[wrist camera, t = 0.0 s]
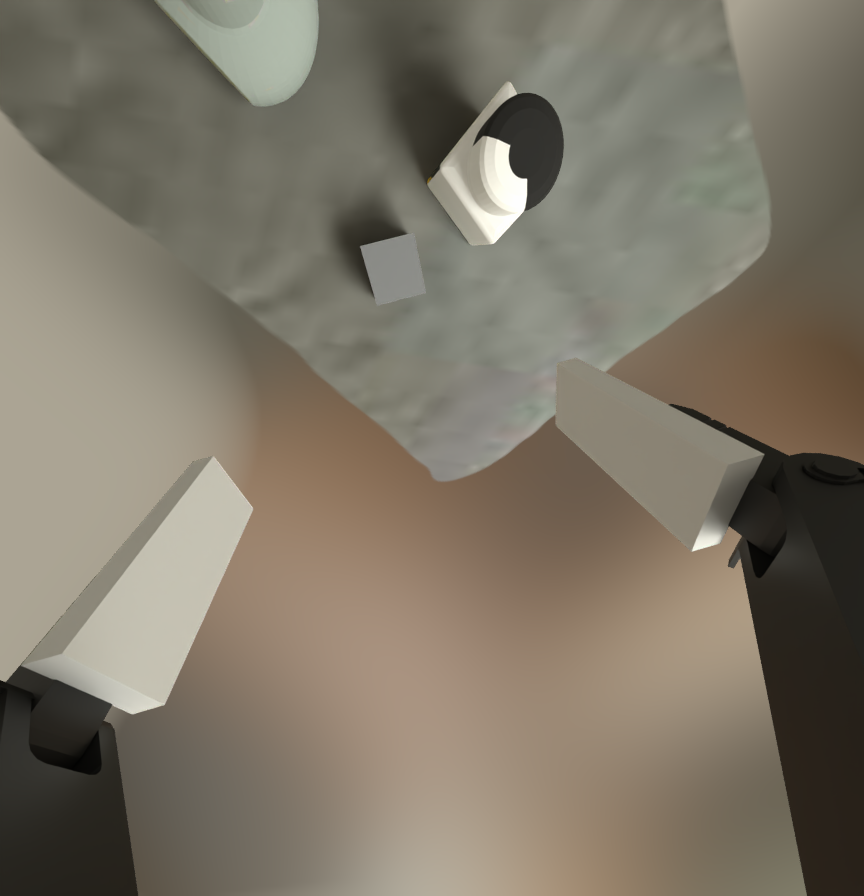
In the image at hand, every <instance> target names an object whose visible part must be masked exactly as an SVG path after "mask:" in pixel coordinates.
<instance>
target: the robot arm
mask: <svg viewBox="0 0 864 896" xmlns="http://www.w3.org/2000/svg"><path fill="white" fill-rule="evenodd" d="M556 426H557V427H558V428H559V429H560V430H561V431H562V432H563V433H564V434H566V435H567V436H568V437H569V438H570V439H571V440H572V441H573V442H574V443H575V444H576V445H577V446H578V447H580V448H581V449H582V450H583V451H584V452H585V453H586V454H587V455H588V456H589V457H590V458H591V459H592V460H594V461H595V462H596V463H597V464H598V465H599V466H600V467H601V468H602V469H603V470H604V471H605V472H606V473H607V474H609V475H610V476H611V477H612V478H613V479H614V480H615V481H616V482H617V483H618V484H619V485H620V486H621V487H623V488H624V489H625V490H626V491H627V492H628V493H629V494H630V495H631V496H632V497H633V498H634V499H635V500H636V501H638V502H639V503H640V504H641V505H642V506H643V507H644V508H645V509H646V510H647V511H648V512H649V513H650V514H651V515H653V516H654V517H655V518H656V519H657V520H658V521H659V522H660V523H661V524H662V525H663V526H664V527H665V528H667V529H668V530H669V531H670V532H671V533H672V534H673V535H674V536H675V537H676V538H677V539H679V541H680V542H682V543H683V544H684V545H685V546H686V547H687V548H688V549H689V550H690V551H695V550H699V549H702V548H706V547H709V546H712V545H716V544H719V543H721V541H722V539H723V537H724V535H725V533H726V531H727V529H728V527H729V526H730V527H731V528H732V529H734V530H735V531H737V532H738V533H739V534H740V535H742V537H741V539H740V541H739V542H738V544H737V546H736V548H735V550H734V552H733V553H732V555H731V557H730V559H729V564H728V567H731V568H734V567H735V565H736V564H737V562H738V560H739V559H741V563H742V568H743V572H744V577H745V583H746V588H747V593H748V598H749V603H750V608H751V614H752V618H753V624H754V629H755V634H756V639H757V644H758V649H759V654H760V659H761V664H762V669H763V674H764V680H765V685H766V689H767V695H768V700H769V704H770V710H771V715H772V720H773V725H774V730H775V735H776V740H777V745H778V750H779V756H780V761H781V766H782V771H783V776H784V781H785V786H786V791H787V796H788V801H789V807H790V812H791V817H792V821H793V827H794V832H795V837H796V842H797V846H798V852H799V857H800V862H801V867H802V873H803V878H804V883H805V888H806V892H807V896H864V465H863V464H861V463H858V462H855V461H852V460H849V459H845V458H842V457H839V456H833V455H827V454H821V453H801V454H795V455H790V456H788V455H786V454H784V453H782V452H780V451H778V450H776V449H774V448H772V447H770V446H768V445H766V444H764V443H761V442H759V441H758V440H755V439H753V438H751V437H749V436H747V435H745V434H743V433H741V432H739V431H737V430H734V429H733V428H731V427H729V428H727V427H726V425H725V424H723V423H720V422H718V421H716V420H711V418H710V417H708V416H706V415H704V414H702V413H700V412H698V411H696V410H694V409H690V408H686V407H682V406H678V405H674V404H669V405H667V404H665V403H663V402H661V401H660V400H658V399H656V398H654V397H652V396H650V395H648V394H646V393H644V392H642V391H640V390H638V389H636V388H634V387H632V386H630V385H628V384H626V383H624V382H622V381H620V380H618V379H617V378H615V377H613V376H611V375H609V374H607V373H605V372H603V371H601V370H599V369H597V368H595V367H593V366H591V365H589V364H587V363H585V362H583V361H581V360H579V359H578V358H574V359H570V360H567V361H563V362H559V363H557V384H556ZM252 511H253V507H252V506H251V505H250V503H249V502H248V501H247V499H246V498H245V497H244V495H243V494H242V493H241V492H240V490H239V489H238V488H237V486H236V485H235V484H234V482H233V481H232V480H231V479H230V477H229V476H228V474H227V473H226V472H225V470H224V469H223V468H222V466H221V465H220V464H219V463H218V461H217V460H216V459H215V457H214V456H212V457H208V458H204V459H200V460H197V461H193V462H192V463H191V464H190V465H189V467H188V468H187V469H186V470H185V471H184V473H183V474H182V475H181V476H180V477H179V479H178V480H177V481H176V482H175V483H174V485H173V486H172V487H171V488H170V489H169V490H168V492H167V493H166V494H165V495H164V496H163V497H162V499H161V500H160V501H159V502H158V503H157V505H156V506H155V507H154V508H153V509H152V510H151V512H150V513H149V514H148V515H147V516H146V518H145V519H144V520H143V521H142V522H141V523H140V525H139V526H138V527H137V528H136V530H135V531H134V532H133V533H132V534H131V535H130V537H129V538H128V539H127V540H126V541H125V542H124V544H123V545H122V546H121V547H120V548H119V549H118V551H117V552H116V553H115V554H114V555H113V557H112V558H111V559H110V560H109V562H108V563H107V564H106V565H105V566H104V567H103V568H102V570H101V571H100V572H99V573H98V574H97V576H95V577H94V579H93V580H92V581H91V582H90V584H89V585H88V586H87V587H86V588H85V589H84V591H83V592H82V593H81V594H80V595H79V597H78V598H77V599H76V600H75V601H74V602H73V603H72V605H71V606H70V607H69V608H68V609H67V611H66V612H65V613H64V615H63V616H62V617H61V618H60V619H59V620H58V621H57V622H56V624H55V625H54V626H53V627H52V628H51V629H50V631H49V632H48V633H47V634H46V636H45V637H44V638H43V639H42V640H41V641H40V642H39V644H38V645H37V646H36V647H35V648H34V650H33V651H32V652H31V653H30V654H29V656H28V657H27V658H26V659H25V660H24V661H23V663H22V664H21V665H20V666H19V667H18V668H17V670H16V671H15V672H14V673H13V674H12V676H11V677H10V678H9V679H8V680H7V681H6V682H3V681H1V680H0V896H138V891H137V884H136V877H135V870H134V863H133V857H132V849H131V842H130V835H129V828H128V821H127V814H126V807H125V800H124V793H123V786H122V779H121V772H120V765H119V759H118V751H117V744H116V737H115V730H114V728H113V726H112V725H111V724H110V723H108V722H105V721H103V720H104V719H105V717H106V715H107V713H108V711H109V709H110V708H111V706H115V707H117V708H119V709H122V710H124V711H126V712H129V713H131V714H135V713H138V712H141V711H145V710H148V709H152V708H155V707H159V706H162V705H165V703H166V700H167V698H168V696H169V694H170V692H171V690H172V687H173V685H174V683H175V681H176V678H177V676H178V674H179V672H180V670H181V668H182V665H183V663H184V661H185V659H186V656H187V654H188V652H189V649H190V647H191V645H192V643H193V641H194V639H195V637H196V634H197V632H198V630H199V628H200V625H201V623H202V621H203V619H204V617H205V615H206V612H207V610H208V608H209V605H210V603H211V601H212V599H213V597H214V595H215V592H216V590H217V588H218V586H219V584H220V581H221V579H222V577H223V575H224V573H225V570H226V568H227V566H228V564H229V561H230V559H231V557H232V555H233V553H234V551H235V548H236V546H237V544H238V542H239V539H240V537H241V535H242V533H243V531H244V528H245V526H246V524H247V522H248V520H249V517H250V515H251V513H252Z"/></svg>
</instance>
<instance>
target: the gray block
mask: <svg viewBox="0 0 864 896" xmlns="http://www.w3.org/2000/svg"><path fill="white" fill-rule="evenodd" d="M360 248H361V251H362V255H363V258H364V262H365V265H366V269H367V272H368V276H369V279H370V283H371V286H372V290H373V293H374V297H375V300H376V304H377V306H378V305H382V304H386V303H389V302H393V301H397V300H401V299H405V298H409V297H413V296H416V295H420V294H424V293H426V290H425V285H424V280H423V275H422V270H421V265H420V260H419V255H418V250H417V245H416V240H415V234H414V233H410V234H406V235H402V236H398V237H394V238H390V239H386V240H382V241H378V242H374V243H371V244H367V245H363V246H360Z"/></svg>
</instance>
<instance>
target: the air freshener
mask: <svg viewBox="0 0 864 896" xmlns="http://www.w3.org/2000/svg"><path fill="white" fill-rule="evenodd" d="M154 1H155V2H156V4H157V5H158V6H159V7H160V8H161V9H162V10H163V11H164V12H165V13H166V15H167V16H168V17H169V18H170V19H171V20H172V21H173V22H174V23H175V24H176V25H177V26H178V28H179V29H180V30H181V31H182V32H183V33H184V34H185V35H186V36H187V37H188V38H189V39H190V40H191V42H192V43H193V44H194V45H195V46H196V47H197V48H198V49H199V50H200V51H201V52H202V53H203V54H204V55H205V56H206V58H207V59H208V60H209V61H210V62H211V63H212V64H213V65H214V66H215V67H216V68H217V69H218V70H219V71H220V72H221V73H222V74H223V76H224V77H225V78H226V79H227V80H228V81H229V82H230V83H231V84H232V85H233V86H234V87H235V88H236V89H237V90H238V91H239V92H240V93H241V94H242V95H243V96H244V97H245V98H246V99H247V100H248V101H249V102H250V103H251V104H252V105H253V106H262V107H264V106H271V105H276V104H278V103H281V102H283V101H286V100H287V99H288V98H290V97H291V96H292V95H294V94H295V93H296V92H297V90H298V89H299V88H300V87H301V86H302V85H303V83H304V81H305V79H306V78H307V76H308V74H309V72H310V69H311V66H312V63H313V60H314V57H315V52H316V47H317V42H318V26H319V16H318V0H154Z"/></svg>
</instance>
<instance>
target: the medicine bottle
mask: <svg viewBox="0 0 864 896" xmlns="http://www.w3.org/2000/svg"><path fill="white" fill-rule="evenodd" d="M563 149H564V140H563V131H562V127H561V123H560V120H559V117H558V115H557V113H556V111H555V110H554V108H553V107H552V105H551V104H550V103H549V102H548V101H547V100H545V99H544V98H542V97H541V96H539V95H536V94H532V93H522V94H518V95H517V93H516V91H515V89H514V87H513V85H512V84H511V83H510V82H506V83H505V84H504V85H503V86H502V87H501V89H500V90H499V91H498V92H497V94H496V95H495V96H494V97H493V99H492V100H491V101H490V102H489V104H488V105H487V106H486V107H485V109H484V110H483V111H482V112H481V114H480V115H479V116H478V117H477V119H476V120H475V121H474V122H473V124H472V125H471V126H470V127H469V129H468V130H467V131H466V132H465V134H464V135H463V136H462V137H461V139H460V140H459V141H458V142H457V144H456V145H455V146H454V148H453V149H452V150H451V151H450V153H449V154H448V155H447V156H446V158H445V159H444V160H443V161H442V163H441V164H440V165H439V166H438V168H437V169H436V170H435V171H434V173H433V174H432V175H431V177H430V178H429V179H428V181H427V185H428V187H429V189H430V190H431V191H432V193H433V194H434V195H435V197H436V198H437V200H438V201H439V202H440V204H441V205H442V206H443V208H444V209H445V211H446V212H447V213H448V215H449V216H450V218H451V219H452V220H453V222H454V223H455V224H456V226H457V227H458V229H459V230H460V231H461V233H462V234H463V236H464V237H465V238H466V240H467V241H468V242H469V244H470V245H484V244H493V243H495V242H496V241H497V240H498V239H499V238H500V236H501V235H502V234H503V233H504V232H505V231H506V230H507V229H508V228H509V227H510V226H511V224H512V223H513V222H514V221H515V220H516V219H517V218H518V217H519V216H520V215H521V214H522V212H523V211H526V210H529V209H531V208H533V207H534V206H536V205H537V204H539V203H540V202H541V201H542V200H543V199H544V198H545V197H546V195H547V194H548V193H549V192H550V190H551V188H552V187H553V185H554V183H555V181H556V179H557V176H558V174H559V171H560V168H561V164H562V158H563Z"/></svg>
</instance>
